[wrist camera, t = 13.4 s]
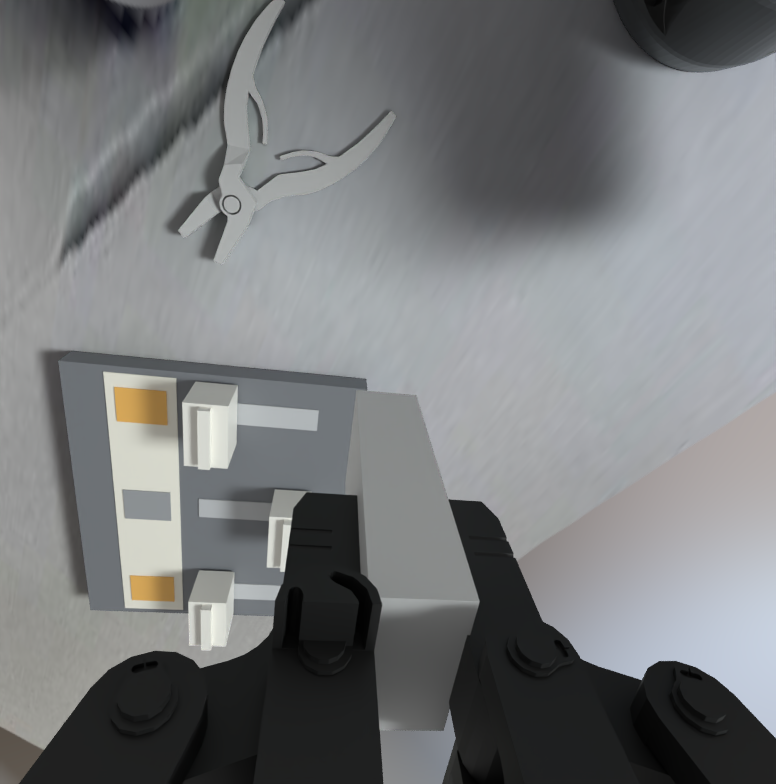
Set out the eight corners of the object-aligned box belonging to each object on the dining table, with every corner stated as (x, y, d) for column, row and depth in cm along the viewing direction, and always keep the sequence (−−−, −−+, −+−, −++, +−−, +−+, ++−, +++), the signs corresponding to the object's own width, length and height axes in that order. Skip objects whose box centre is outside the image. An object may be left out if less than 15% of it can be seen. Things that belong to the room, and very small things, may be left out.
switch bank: (366, 379, 41) (367, 390, 39) (336, 601, 51) (336, 619, 49) (71, 350, 38) (56, 361, 36) (100, 592, 48) (89, 611, 46)
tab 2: (311, 491, 42) (309, 524, 39) (307, 539, 44) (304, 574, 41) (274, 489, 42) (268, 521, 38) (271, 537, 44) (265, 572, 40)
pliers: (400, 118, 33) (259, 296, 36) (398, 119, 34) (262, 291, 38) (272, -13, 29) (132, 198, 33) (275, -5, 31) (141, 196, 35)
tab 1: (237, 385, 38) (226, 410, 34) (236, 443, 40) (225, 473, 36) (195, 381, 38) (179, 406, 34) (196, 440, 40) (181, 470, 36)
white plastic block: (234, 571, 45) (224, 609, 42) (233, 613, 47) (224, 652, 44) (199, 570, 45) (186, 607, 41) (199, 612, 47) (187, 651, 43)
